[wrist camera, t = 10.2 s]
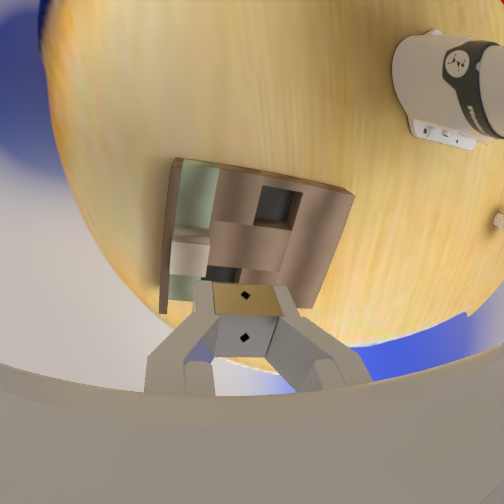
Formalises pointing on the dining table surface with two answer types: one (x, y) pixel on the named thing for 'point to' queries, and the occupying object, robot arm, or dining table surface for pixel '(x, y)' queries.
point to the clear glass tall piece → (499, 221)
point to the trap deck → (253, 228)
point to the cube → (189, 251)
